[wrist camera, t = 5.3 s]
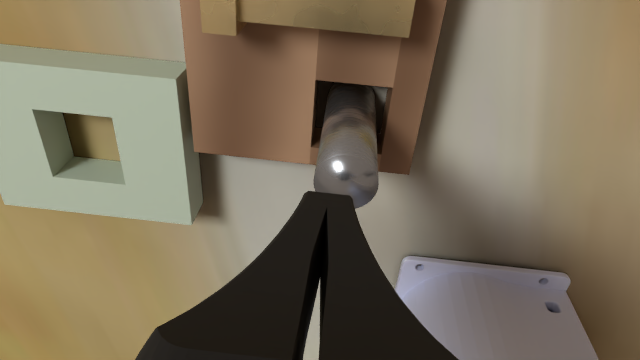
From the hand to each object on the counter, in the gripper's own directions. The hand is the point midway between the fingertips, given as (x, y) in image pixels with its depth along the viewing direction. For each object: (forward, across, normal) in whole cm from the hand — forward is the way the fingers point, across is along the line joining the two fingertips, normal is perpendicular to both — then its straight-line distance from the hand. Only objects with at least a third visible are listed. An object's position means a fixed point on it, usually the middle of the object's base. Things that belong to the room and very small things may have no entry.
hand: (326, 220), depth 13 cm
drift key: (+7, +1, -5) cm, 9 cm away
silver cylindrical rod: (+9, 0, 0) cm, 9 cm away
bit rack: (+9, +12, +3) cm, 15 cm away
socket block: (+9, +2, -2) cm, 10 cm away
